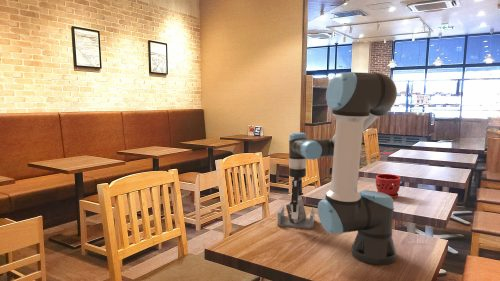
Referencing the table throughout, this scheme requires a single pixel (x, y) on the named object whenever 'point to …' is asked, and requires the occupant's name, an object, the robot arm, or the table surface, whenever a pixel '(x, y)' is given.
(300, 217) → the electrical switch
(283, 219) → the housing
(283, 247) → the table surface
